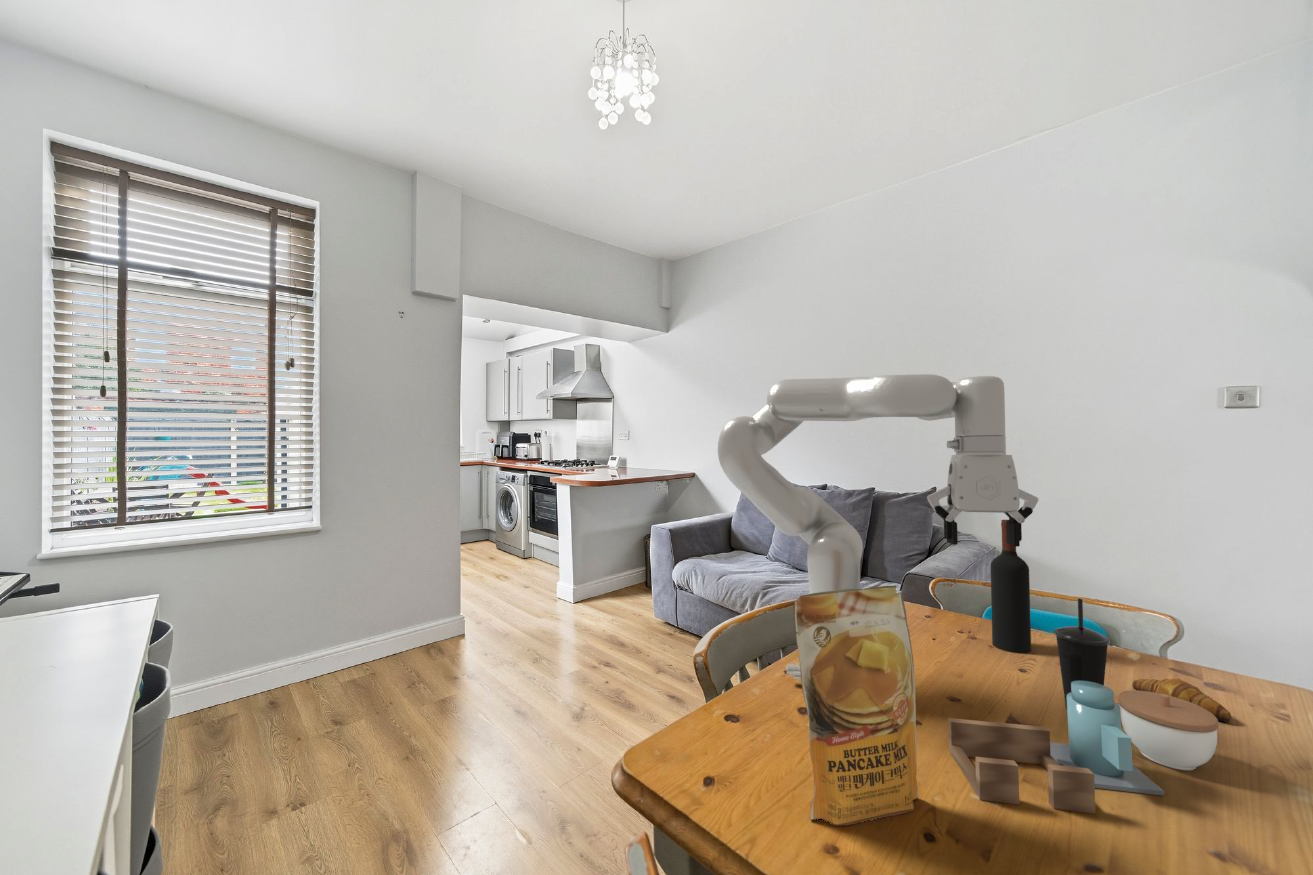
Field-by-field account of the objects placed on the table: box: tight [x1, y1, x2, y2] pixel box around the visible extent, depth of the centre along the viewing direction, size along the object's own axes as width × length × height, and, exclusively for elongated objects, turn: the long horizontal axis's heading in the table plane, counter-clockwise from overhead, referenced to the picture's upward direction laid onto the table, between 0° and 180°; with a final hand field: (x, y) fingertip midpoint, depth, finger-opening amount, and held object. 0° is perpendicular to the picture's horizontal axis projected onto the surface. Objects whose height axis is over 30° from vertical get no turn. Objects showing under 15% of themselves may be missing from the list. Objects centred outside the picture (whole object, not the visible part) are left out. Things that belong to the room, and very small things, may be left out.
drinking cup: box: [1053, 598, 1111, 710], centre depth 91 cm, size 8×8×20 cm
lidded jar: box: [1117, 689, 1219, 772], centre depth 77 cm, size 11×11×9 cm
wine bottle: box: [990, 519, 1032, 654], centre depth 121 cm, size 8×8×30 cm
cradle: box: [947, 717, 1096, 814], centre depth 72 cm, size 13×11×5 cm
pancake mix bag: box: [793, 585, 920, 827], centre depth 67 cm, size 7×19×28 cm, turn 104°
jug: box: [1066, 681, 1133, 777], centre depth 73 cm, size 6×9×11 cm, turn 170°
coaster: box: [1050, 741, 1165, 797], centre depth 74 cm, size 10×10×1 cm
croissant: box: [1131, 678, 1232, 723], centre depth 92 cm, size 14×7×5 cm, turn 20°
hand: (982, 544), depth 89 cm, fingers open, 9 cm apart
